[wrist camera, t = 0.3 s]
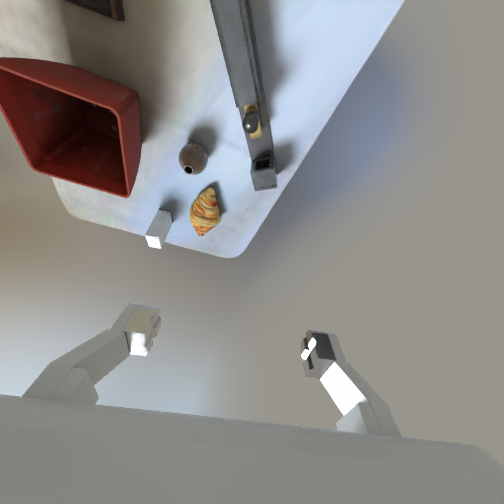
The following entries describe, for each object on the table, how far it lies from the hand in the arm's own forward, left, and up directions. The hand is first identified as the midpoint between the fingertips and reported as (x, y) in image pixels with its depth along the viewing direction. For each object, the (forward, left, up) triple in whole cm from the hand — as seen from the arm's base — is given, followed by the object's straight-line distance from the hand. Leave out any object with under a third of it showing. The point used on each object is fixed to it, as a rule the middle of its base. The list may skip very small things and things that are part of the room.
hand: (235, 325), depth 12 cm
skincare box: (+51, +6, -51) cm, 72 cm away
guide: (+5, +2, -50) cm, 51 cm away
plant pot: (+30, -19, -51) cm, 62 cm away
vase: (+23, 0, -51) cm, 56 cm away
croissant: (+37, +14, -51) cm, 64 cm away
